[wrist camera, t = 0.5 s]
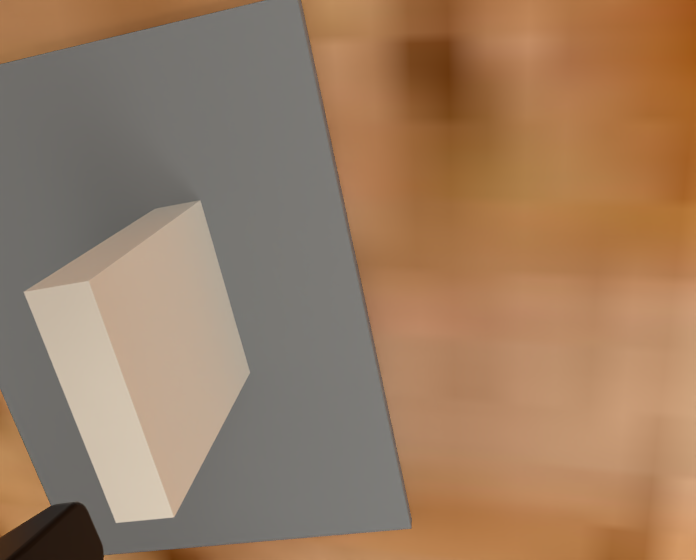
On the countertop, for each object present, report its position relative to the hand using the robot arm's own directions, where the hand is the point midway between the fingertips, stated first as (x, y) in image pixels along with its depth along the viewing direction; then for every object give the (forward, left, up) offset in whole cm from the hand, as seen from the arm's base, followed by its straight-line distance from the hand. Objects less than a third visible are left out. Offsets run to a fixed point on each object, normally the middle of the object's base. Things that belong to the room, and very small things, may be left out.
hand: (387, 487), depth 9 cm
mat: (-2, +8, -12) cm, 15 cm away
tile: (-1, +7, -11) cm, 13 cm away
